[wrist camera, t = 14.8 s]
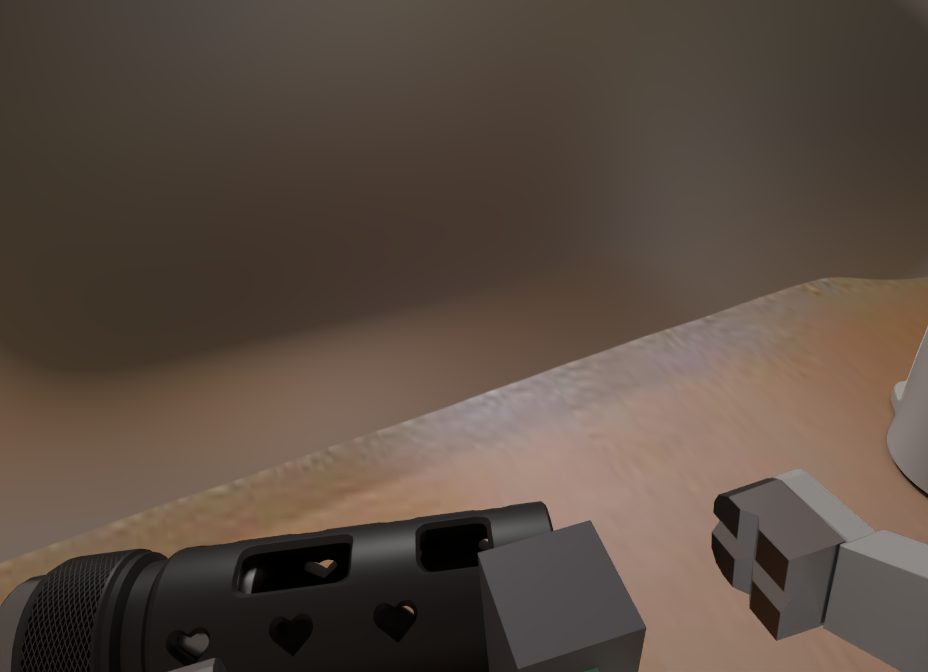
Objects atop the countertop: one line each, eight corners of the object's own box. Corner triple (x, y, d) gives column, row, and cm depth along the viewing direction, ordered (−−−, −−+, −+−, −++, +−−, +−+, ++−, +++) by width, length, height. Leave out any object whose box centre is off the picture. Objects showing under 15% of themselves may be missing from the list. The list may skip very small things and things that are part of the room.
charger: (575, 658, 34) (584, 509, 27) (621, 770, 30) (648, 631, 23) (488, 687, 34) (473, 540, 26) (524, 805, 30) (519, 673, 22)
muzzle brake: (578, 735, 36) (571, 600, 30) (36, 807, 36) (-63, 683, 30) (546, 586, 44) (537, 459, 39) (106, 643, 44) (38, 525, 39)
